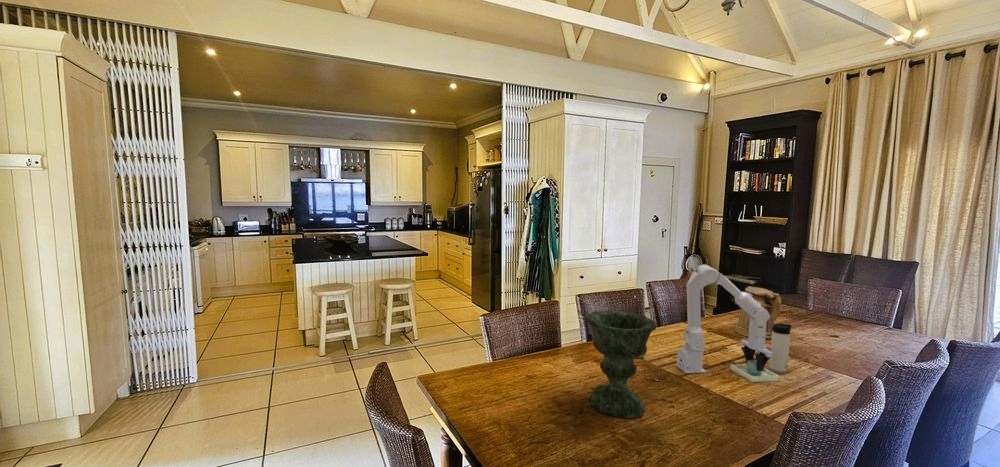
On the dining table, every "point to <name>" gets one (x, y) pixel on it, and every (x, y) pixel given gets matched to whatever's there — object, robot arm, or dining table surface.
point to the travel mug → (780, 348)
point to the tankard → (768, 302)
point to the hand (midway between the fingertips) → (754, 367)
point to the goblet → (619, 359)
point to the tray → (763, 377)
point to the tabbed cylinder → (753, 367)
